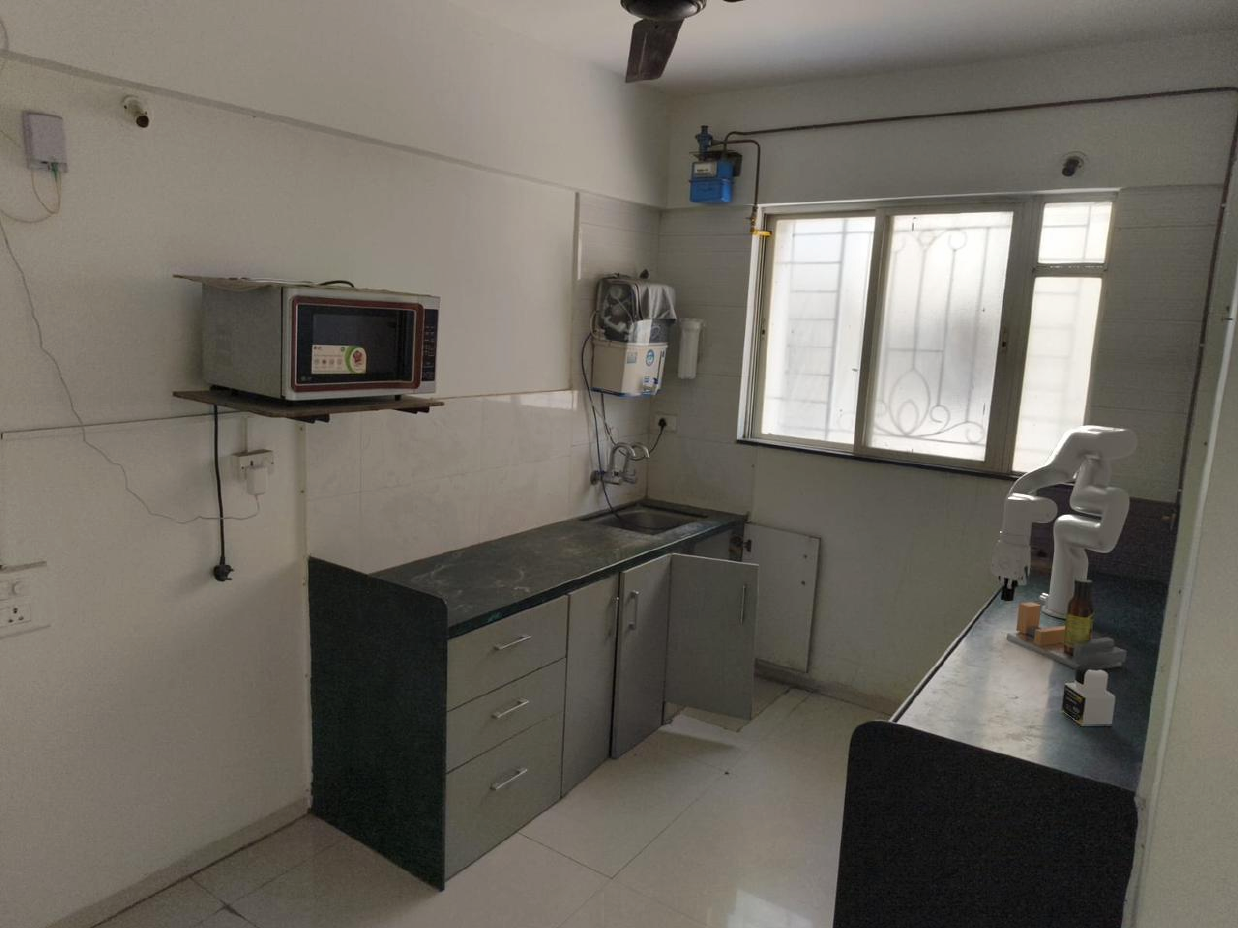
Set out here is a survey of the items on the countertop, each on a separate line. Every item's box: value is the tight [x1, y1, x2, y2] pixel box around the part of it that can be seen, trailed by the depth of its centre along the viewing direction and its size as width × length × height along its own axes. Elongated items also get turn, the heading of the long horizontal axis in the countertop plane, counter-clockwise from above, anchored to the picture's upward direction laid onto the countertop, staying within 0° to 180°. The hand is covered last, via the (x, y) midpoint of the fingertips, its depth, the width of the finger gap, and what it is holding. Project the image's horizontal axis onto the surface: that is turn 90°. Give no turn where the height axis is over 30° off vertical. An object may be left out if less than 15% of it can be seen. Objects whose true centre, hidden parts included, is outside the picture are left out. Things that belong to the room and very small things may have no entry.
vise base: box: [1006, 631, 1128, 670], centre depth 215 cm, size 25×14×6 cm, turn 21°
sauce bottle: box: [1063, 578, 1095, 654], centre depth 211 cm, size 6×6×20 cm
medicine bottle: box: [1061, 665, 1116, 725], centre depth 175 cm, size 7×7×12 cm
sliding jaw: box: [1015, 601, 1065, 646], centre depth 222 cm, size 11×12×8 cm
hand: (1006, 600), depth 232 cm, fingers closed
